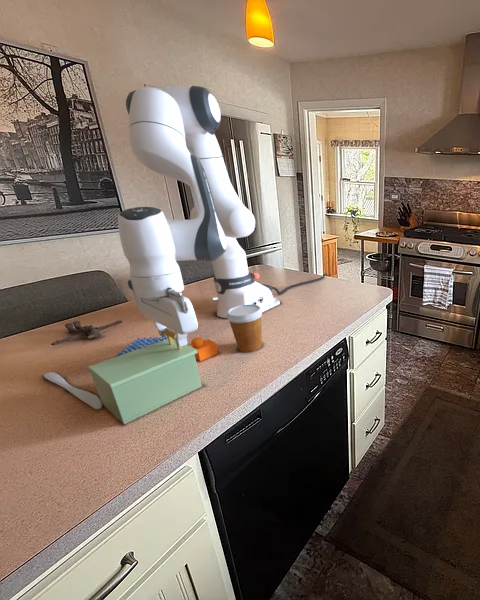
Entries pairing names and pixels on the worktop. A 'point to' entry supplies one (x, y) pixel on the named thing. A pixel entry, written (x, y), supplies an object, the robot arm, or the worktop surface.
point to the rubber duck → (204, 348)
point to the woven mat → (140, 344)
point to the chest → (149, 389)
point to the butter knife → (75, 390)
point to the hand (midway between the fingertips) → (173, 340)
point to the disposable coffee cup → (246, 326)
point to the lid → (141, 361)
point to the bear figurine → (84, 331)
